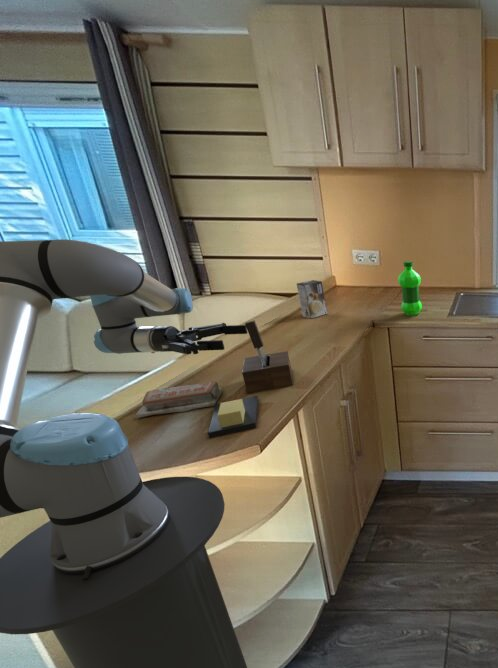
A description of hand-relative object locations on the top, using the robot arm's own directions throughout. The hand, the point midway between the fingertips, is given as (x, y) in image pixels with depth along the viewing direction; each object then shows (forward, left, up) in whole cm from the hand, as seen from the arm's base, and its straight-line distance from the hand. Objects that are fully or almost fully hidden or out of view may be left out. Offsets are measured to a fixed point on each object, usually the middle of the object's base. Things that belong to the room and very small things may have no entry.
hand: (235, 336), depth 121 cm
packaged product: (-8, +15, -15) cm, 23 cm away
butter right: (-26, 0, -14) cm, 30 cm away
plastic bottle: (+48, -67, -15) cm, 84 cm away
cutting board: (-23, +1, -15) cm, 27 cm away
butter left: (-26, +2, -14) cm, 30 cm away
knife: (-3, -7, -15) cm, 17 cm away
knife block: (-3, -7, -15) cm, 17 cm away
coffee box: (+67, -25, -15) cm, 73 cm away
